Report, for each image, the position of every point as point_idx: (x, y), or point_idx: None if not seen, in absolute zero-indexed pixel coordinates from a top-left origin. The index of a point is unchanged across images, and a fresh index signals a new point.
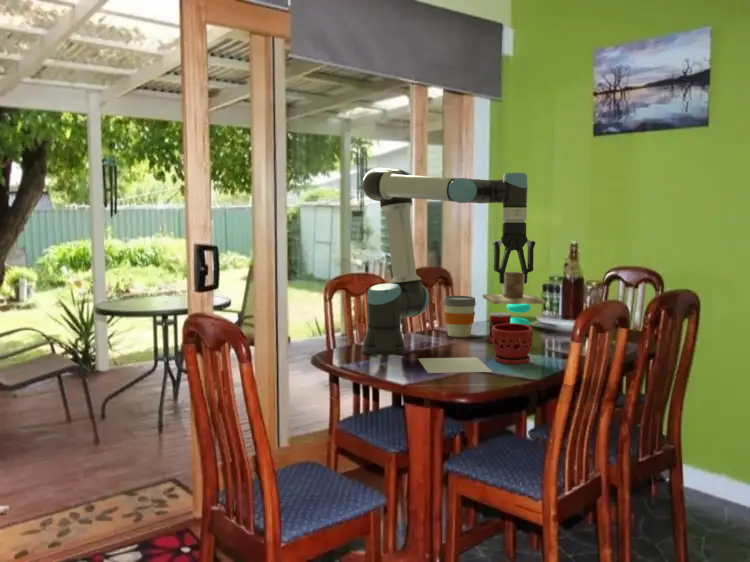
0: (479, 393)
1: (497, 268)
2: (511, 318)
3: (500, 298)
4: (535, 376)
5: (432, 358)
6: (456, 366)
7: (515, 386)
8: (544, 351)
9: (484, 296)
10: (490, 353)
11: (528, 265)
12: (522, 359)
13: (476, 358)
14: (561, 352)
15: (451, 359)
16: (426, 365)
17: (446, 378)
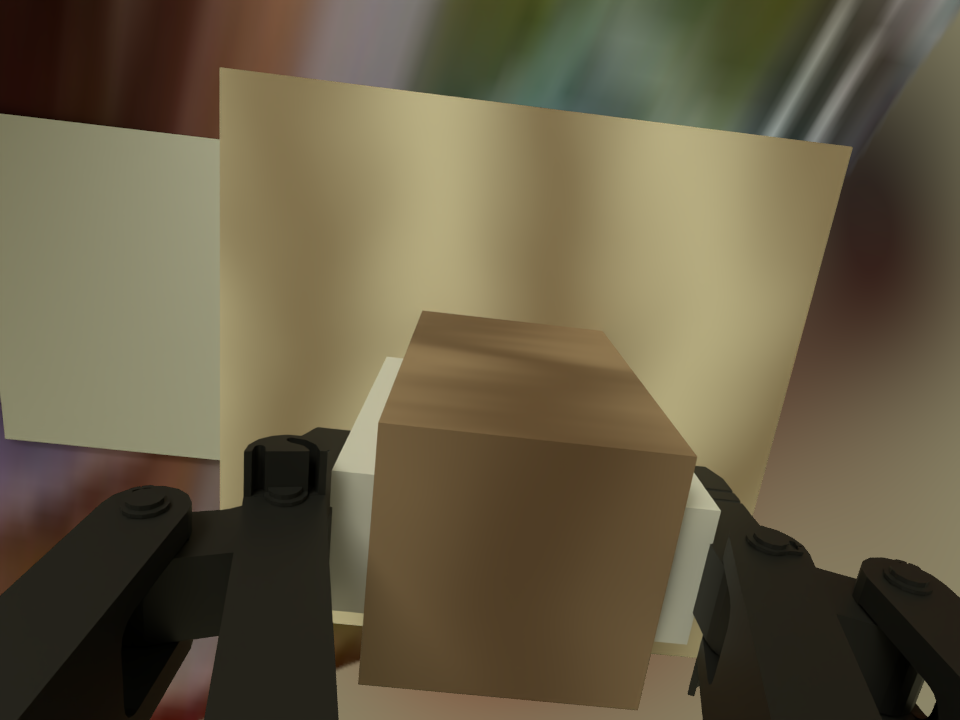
0: (183, 713)
1: (134, 667)
2: None
3: None
4: None
5: (56, 129)
6: (164, 343)
7: (344, 658)
8: (827, 17)
9: (225, 171)
10: (461, 9)
11: (925, 667)
12: None
13: None
14: (912, 70)
15: (166, 177)
16: (8, 295)
17: (90, 509)
